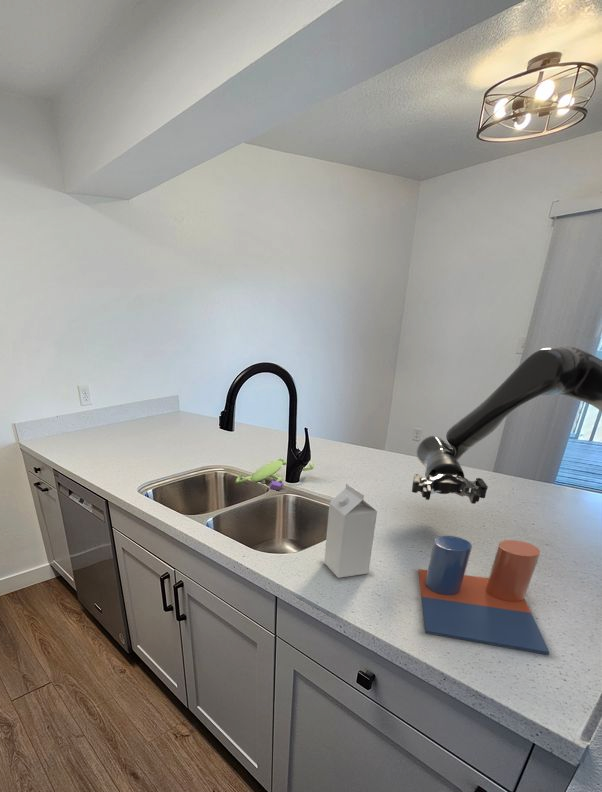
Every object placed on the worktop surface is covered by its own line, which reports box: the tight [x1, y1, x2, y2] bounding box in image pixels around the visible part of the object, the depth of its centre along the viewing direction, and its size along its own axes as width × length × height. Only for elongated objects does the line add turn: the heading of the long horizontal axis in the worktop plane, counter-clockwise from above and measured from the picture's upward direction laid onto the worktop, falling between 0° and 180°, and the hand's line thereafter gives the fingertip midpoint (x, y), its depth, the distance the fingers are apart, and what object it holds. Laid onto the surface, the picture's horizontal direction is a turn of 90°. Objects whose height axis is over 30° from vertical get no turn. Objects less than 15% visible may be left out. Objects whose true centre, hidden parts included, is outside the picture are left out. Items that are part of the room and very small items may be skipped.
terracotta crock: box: [486, 539, 541, 602], centre depth 83 cm, size 6×6×10 cm
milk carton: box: [323, 483, 378, 579], centre depth 93 cm, size 7×7×19 cm
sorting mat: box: [418, 568, 550, 655], centre depth 82 cm, size 18×22×1 cm
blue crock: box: [425, 535, 473, 595], centre depth 86 cm, size 6×6×10 cm
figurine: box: [235, 458, 315, 491], centre depth 152 cm, size 18×27×6 cm
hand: (451, 497), depth 91 cm, fingers open, 8 cm apart
